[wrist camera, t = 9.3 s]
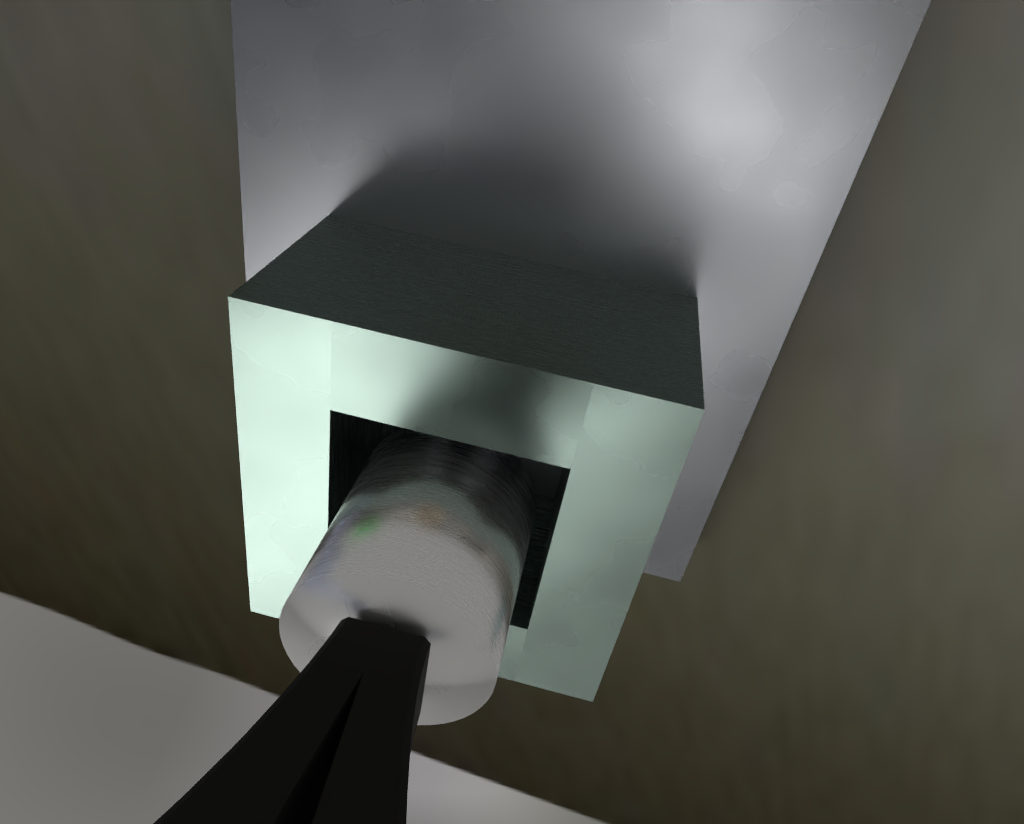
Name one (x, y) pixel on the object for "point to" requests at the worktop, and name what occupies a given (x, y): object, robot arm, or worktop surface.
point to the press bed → (535, 262)
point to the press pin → (424, 563)
